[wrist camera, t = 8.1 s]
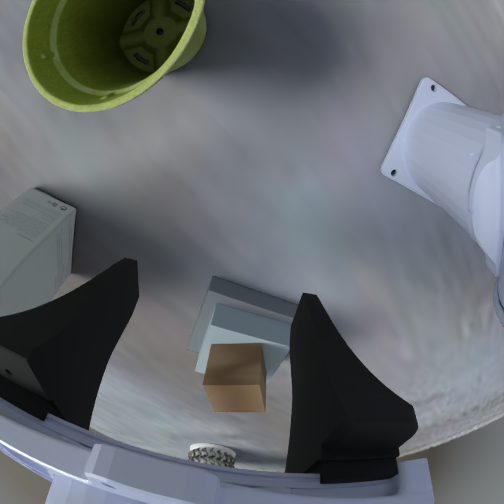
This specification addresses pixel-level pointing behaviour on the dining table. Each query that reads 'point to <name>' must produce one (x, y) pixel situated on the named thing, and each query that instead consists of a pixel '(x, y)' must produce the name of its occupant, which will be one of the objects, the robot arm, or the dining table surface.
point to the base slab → (237, 307)
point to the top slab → (246, 336)
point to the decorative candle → (212, 454)
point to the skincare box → (34, 250)
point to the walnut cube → (236, 377)
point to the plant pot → (107, 48)
